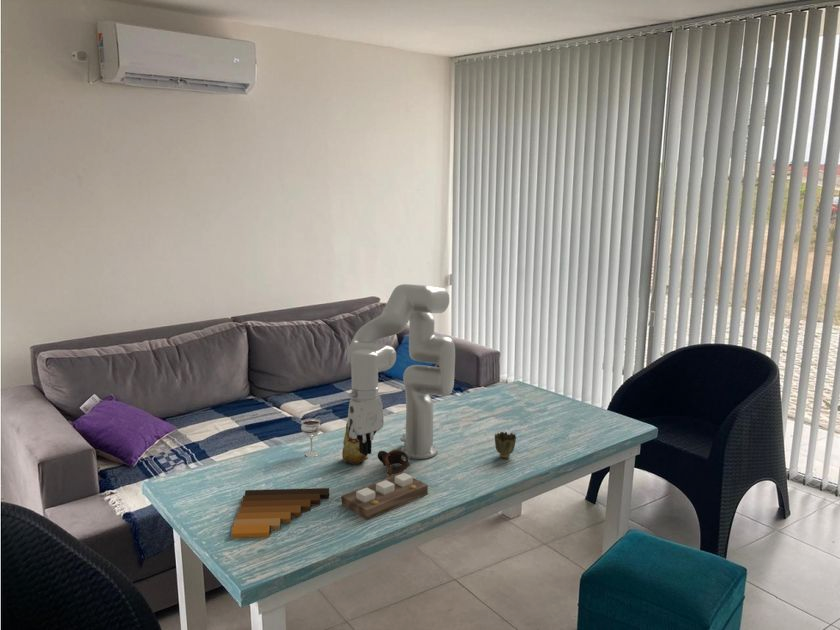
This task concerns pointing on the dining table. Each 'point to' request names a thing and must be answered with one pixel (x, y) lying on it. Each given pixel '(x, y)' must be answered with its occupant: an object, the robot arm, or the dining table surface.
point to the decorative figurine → (352, 450)
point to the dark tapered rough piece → (505, 444)
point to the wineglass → (311, 431)
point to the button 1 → (365, 495)
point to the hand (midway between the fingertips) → (365, 453)
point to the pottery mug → (394, 461)
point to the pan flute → (273, 509)
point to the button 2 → (403, 480)
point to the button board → (384, 498)
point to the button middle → (385, 487)
